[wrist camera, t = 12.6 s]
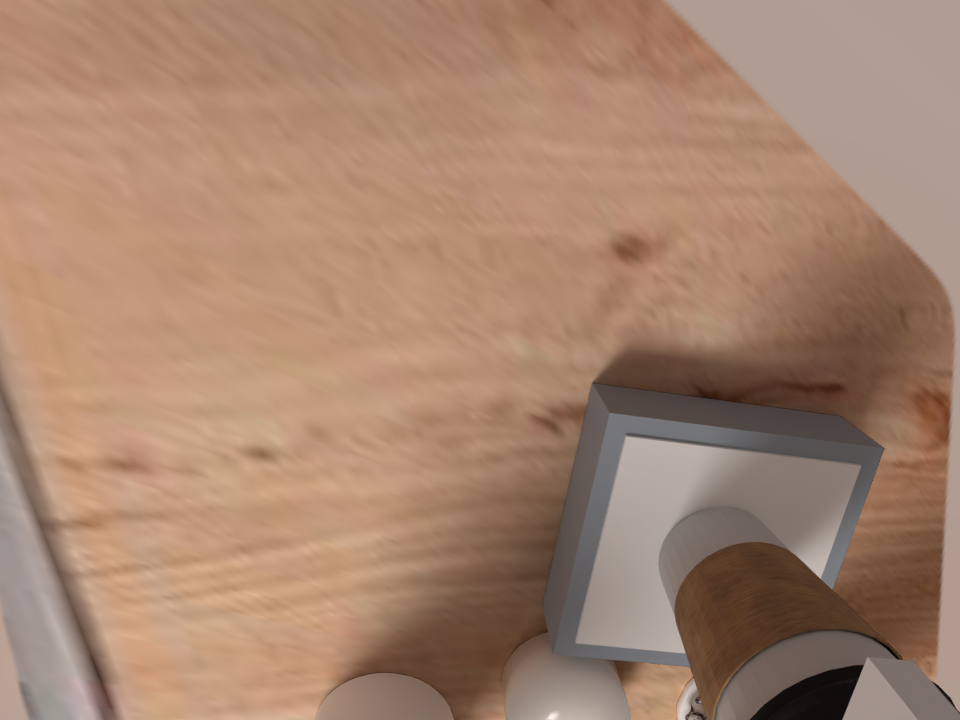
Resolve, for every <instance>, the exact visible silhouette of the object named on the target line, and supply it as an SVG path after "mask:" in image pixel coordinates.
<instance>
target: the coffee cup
mask: <svg viewBox="0 0 960 720" xmlns="http://www.w3.org/2000/svg"><path fill="white" fill-rule="evenodd" d="M658 566H659V574H660V577H661V580H662V583H663V586H664V589H665V591H666V594H667V597H668V600H669V602H670V605H671V608H672V611H673V613H674V616H675V622H676V625H677V628H678V631H679V634H680V637H681V640H682V643H683V646H684V650H685V653H686V656H687V659H688V662H689V665H690V668H691V671H692V674H693V677H694V681H695V684H696V687H697V690H698V693H699V696H700V699H701V702H702V705H703V708H704V711H705V715H706V718H707V720H843V717H844V715H845V712H846V710H847V707H848V705H849V702H850V700H851V697H852V695H853V692H854V690H855V687H856V685H857V682H858V680H859V677H860V674H861V672H862V669H863V667H864V664H865V662H866V659H867V657H875V658H886V659H896V660H903V659H902V657H901V656H900V655H899V654H898V653H897V652H896V651H895V650H894V648H893V647H892V646H891V645H890V644H889V643H888V642H886V641H885V640H884V639H883V638H882V637H881V636H880V635H879V634H878V633H877V632H876V631H875V630H874V629H873V628H872V627H871V626H870V625H869V624H868V623H867V622H865V621H864V620H863V619H862V618H861V617H860V616H859V615H858V614H857V613H856V612H855V611H854V610H853V609H852V608H851V607H850V606H849V605H848V604H847V603H846V602H844V601H843V600H842V599H841V598H840V597H839V596H838V595H837V594H836V593H835V592H834V591H833V590H832V589H831V588H830V587H829V586H828V585H827V584H826V583H825V582H824V581H822V580H821V579H820V578H819V577H818V576H817V575H816V574H815V573H814V572H813V571H812V570H811V569H810V568H809V567H808V566H807V565H806V564H805V563H804V562H803V561H801V560H800V559H799V558H798V557H797V556H796V555H795V554H793V553H792V552H791V551H790V550H789V549H788V548H787V547H786V546H785V545H784V544H783V543H782V542H781V541H780V540H779V539H778V538H777V537H776V536H775V535H774V534H773V533H772V532H771V531H770V530H769V529H768V528H767V527H766V526H765V525H764V524H763V523H762V522H761V521H760V520H759V519H758V518H757V517H755V516H754V515H752V514H750V513H749V512H746V511H744V510H741V509H737V508H731V507H715V508H709V509H705V510H702V511H699V512H696V513H694V514H692V515H690V516H689V517H687V518H685V519H684V520H682V521H681V522H680V523H679V524H678V525H676V526H675V527H674V529H673V530H672V531H671V532H670V533H669V534H668V536H667V538H666V539H665V541H664V543H663V545H662V548H661V551H660V554H659V562H658ZM931 682H932V681H931ZM932 683H933V684H934V685H935V686H936V687H937V688H938V690H939V691H940V692H941V693H942V694H943V695H944V696H945V698H946V699H947V700H948V701H949V702H950V703H951V704H952V706H953V707H954V708H955V705H954V704H953V702H952V700H951V698H950V697H949V696H948V695H947V694H946V693H945V692H944V691H943V690H942V689H941V688H940V687H939V686H938V685H937V684H935V683H934V682H932ZM955 709H956V708H955ZM956 710H957V709H956ZM957 711H958V710H957ZM958 712H959V711H958ZM959 714H960V712H959Z"/></svg>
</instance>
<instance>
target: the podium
mask: <svg viewBox="0 0 960 720" xmlns="http://www.w3.org/2000/svg"><path fill="white" fill-rule="evenodd" d="M883 451H884V448H883V447H882V446H881V445H879V444H878V443H876V442H875V441H874V440H872V439H871V438H870V437H868V436H867V435H866V434H864V433H863V432H862V431H860V430H859V429H858V428H856V427H855V426H854V425H852V424H851V423H850V422H848V421H847V420H846V419H844V418H843V417H842V416H835V415H827V414H820V413H812V412H805V411H797V410H790V409H782V408H775V407H768V406H760V405H753V404H745V403H738V402H730V401H723V400H715V399H708V398H700V397H693V396H685V395H678V394H670V393H663V392H655V391H648V390H640V389H633V388H625V387H618V386H610V385H603V384H595V383H592V386H591V390H590V395H589V399H588V404H587V408H586V413H585V417H584V422H583V426H582V431H581V435H580V440H579V444H578V449H577V453H576V457H575V462H574V466H573V471H572V475H571V480H570V484H569V489H568V493H567V498H566V502H565V507H564V511H563V516H562V520H561V524H560V529H559V533H558V538H557V542H556V547H555V551H554V556H553V560H552V565H551V569H550V574H549V578H548V583H547V587H546V591H545V596H544V600H543V605H542V607H543V612H544V616H545V621H546V626H547V630H548V635H549V639H550V644H551V648H552V653H553V654H554V655H565V656H576V657H587V658H598V659H609V660H620V661H630V662H641V663H652V664H663V665H674V666H685V667H690V665H689V662H688V659H687V656H686V653H685V650H684V646H683V643H682V640H681V637H680V634H679V631H678V628H677V625H676V622H675V616H674V613H673V611H672V608H671V605H670V602H669V600H668V597H667V594H666V591H665V589H664V586H663V583H662V580H661V577H660V574H659V566H658V562H659V554H660V551H661V548H662V545H663V543H664V541H665V539H666V538H667V536H668V534H669V533H670V532H671V531H672V530H673V529H674V527H675V526H676V525H678V524H679V523H680V522H681V521H682V520H684V519H685V518H687V517H689V516H690V515H692V514H694V513H696V512H699V511H702V510H705V509H709V508H715V507H731V508H737V509H741V510H744V511H746V512H749V513H750V514H752V515H754V516H755V517H757V518H758V519H759V520H760V521H761V522H762V523H763V524H764V525H765V526H766V527H767V528H768V529H769V530H770V531H771V532H772V533H773V534H774V535H775V536H776V537H777V538H778V539H779V540H780V541H781V542H782V543H783V544H784V545H785V546H786V547H787V548H788V549H789V550H790V551H791V552H792V553H793V554H795V555H796V556H797V557H798V558H799V559H800V560H801V561H803V562H804V563H805V564H806V565H807V566H808V567H809V568H810V569H811V570H812V571H813V572H814V573H815V574H816V575H817V576H818V577H819V578H820V579H821V580H822V581H824V582H825V583H826V584H827V585H828V586H829V587H830V588H831V589H833V587H834V584H835V581H836V579H837V576H838V573H839V570H840V568H841V565H842V562H843V560H844V557H845V554H846V551H847V549H848V546H849V543H850V541H851V538H852V535H853V532H854V530H855V527H856V524H857V522H858V519H859V516H860V513H861V511H862V508H863V505H864V503H865V500H866V497H867V494H868V492H869V489H870V486H871V484H872V481H873V478H874V475H875V473H876V470H877V467H878V465H879V462H880V459H881V456H882V454H883Z"/></svg>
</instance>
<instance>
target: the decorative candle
mask: <svg viewBox="0 0 960 720" xmlns="http://www.w3.org/2000/svg"><path fill="white" fill-rule="evenodd" d="M677 720H707V718H706V715H705V711H704V708H703V705H702V702H701V699H700V696H699V693H698V690H697V687H696V684H695V681H694V677H693V678H692V679H691V680H690V681H689V682H688V683H687V684H686V685H685V688H684V690H683V692H682V694H681V696H680V698H679V701H678V703H677Z"/></svg>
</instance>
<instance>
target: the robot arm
mask: <svg viewBox="0 0 960 720" xmlns="http://www.w3.org/2000/svg"><path fill="white" fill-rule="evenodd" d="M843 720H960V714H959V712H958V711H957V710H956V709H955V708H954V707H953V706H952V704H951V703H950V702H949V701H948V700H947V699H946V698H945V696H944V695H943V694H942V693H941V692H940V691H939V690H938V688H937V687H936V686H935V685H934V684H933V683H932V682H931V680H930V679H929V678H928V677H927V676H926V675H925V674H924V672H923V671H922V670H921V669H920V668H919V667H918V666H917V664H916V663H915V662H914V661H907V660H896V659H886V658H875V657H867V659H866V662H865V664H864V667H863V669H862V672H861V674H860V677H859V680H858V682H857V685H856V687H855V690H854V692H853V695H852V697H851V700H850V702H849V705H848V707H847V710H846V712H845V715H844V717H843Z"/></svg>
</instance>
